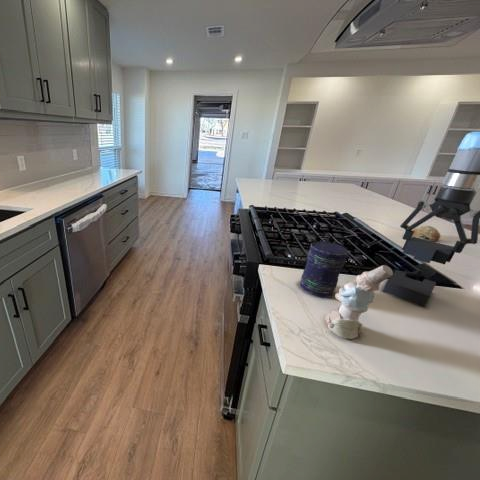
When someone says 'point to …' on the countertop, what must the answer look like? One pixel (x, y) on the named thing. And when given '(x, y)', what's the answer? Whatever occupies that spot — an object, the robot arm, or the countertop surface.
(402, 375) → the countertop surface
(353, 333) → the figurine
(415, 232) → the bread roll
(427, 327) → the countertop surface
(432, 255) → the loose pad
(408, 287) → the base pad
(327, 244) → the storage jar
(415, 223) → the robot arm
